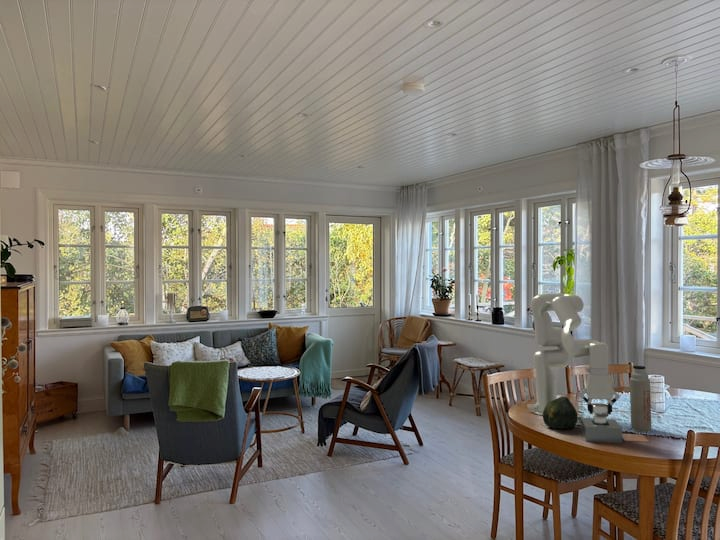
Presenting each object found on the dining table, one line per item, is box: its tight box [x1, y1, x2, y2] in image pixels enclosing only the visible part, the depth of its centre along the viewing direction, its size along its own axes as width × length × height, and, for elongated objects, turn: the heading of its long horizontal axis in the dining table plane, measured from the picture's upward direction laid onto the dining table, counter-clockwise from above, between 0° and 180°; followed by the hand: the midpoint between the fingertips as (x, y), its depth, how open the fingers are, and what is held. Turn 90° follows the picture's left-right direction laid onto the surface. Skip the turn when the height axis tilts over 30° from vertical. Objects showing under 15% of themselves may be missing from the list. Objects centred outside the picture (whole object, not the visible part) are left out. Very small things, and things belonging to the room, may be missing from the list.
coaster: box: [622, 433, 649, 443], centre depth 224 cm, size 9×9×1 cm
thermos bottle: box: [629, 365, 652, 433], centre depth 236 cm, size 8×8×28 cm
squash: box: [542, 396, 578, 430], centre depth 242 cm, size 14×15×15 cm
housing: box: [580, 417, 623, 444], centre depth 226 cm, size 14×14×6 cm
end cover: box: [590, 402, 610, 425], centre depth 227 cm, size 7×7×10 cm
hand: (599, 412), depth 227 cm, fingers closed on end cover, 6 cm apart
